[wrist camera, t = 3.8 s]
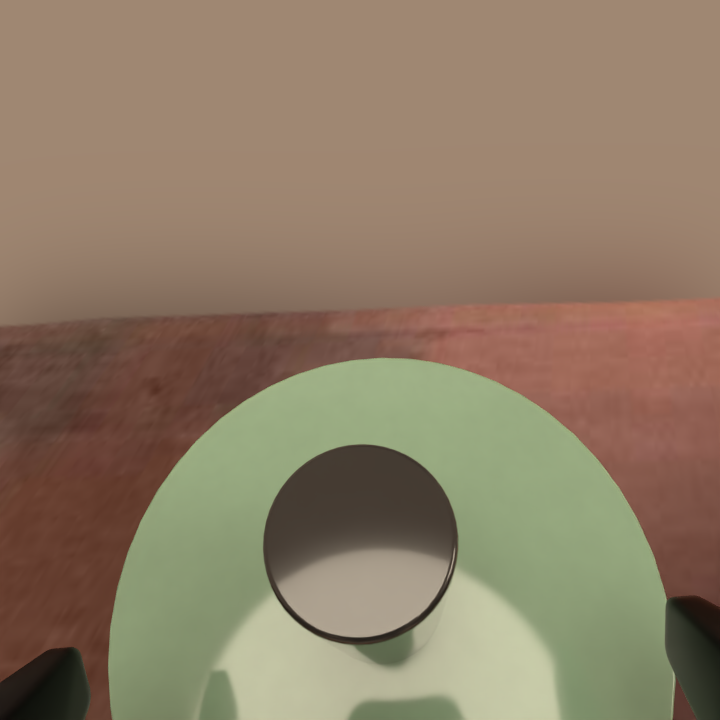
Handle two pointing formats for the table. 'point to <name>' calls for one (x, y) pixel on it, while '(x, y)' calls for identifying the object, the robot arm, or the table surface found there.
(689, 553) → the table surface
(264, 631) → the lid
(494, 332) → the table surface
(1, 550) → the table surface
